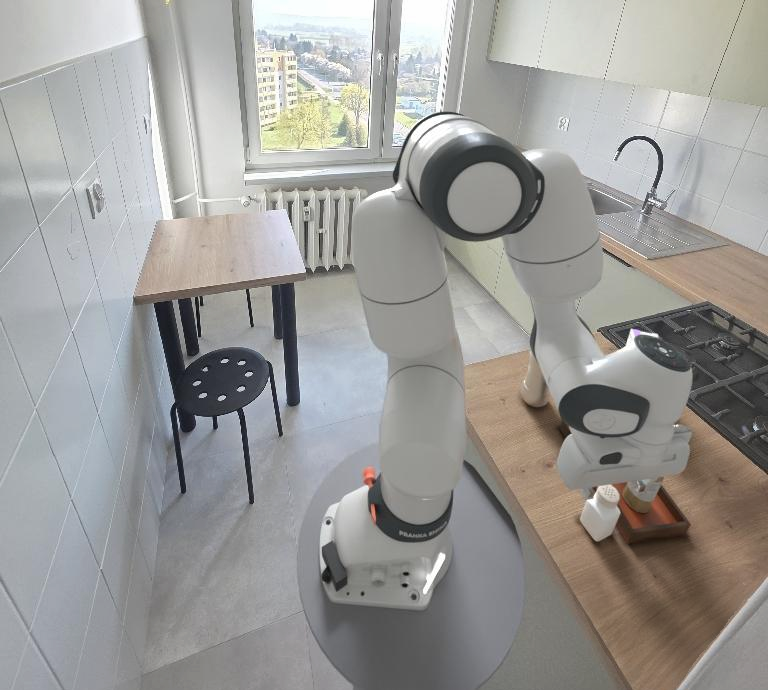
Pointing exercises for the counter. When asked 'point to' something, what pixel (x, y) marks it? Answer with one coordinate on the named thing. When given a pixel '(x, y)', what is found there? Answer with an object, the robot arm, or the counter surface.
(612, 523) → the pepper shaker
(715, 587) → the counter surface
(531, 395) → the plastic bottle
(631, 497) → the sprinkles bottle
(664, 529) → the tray
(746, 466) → the counter surface
